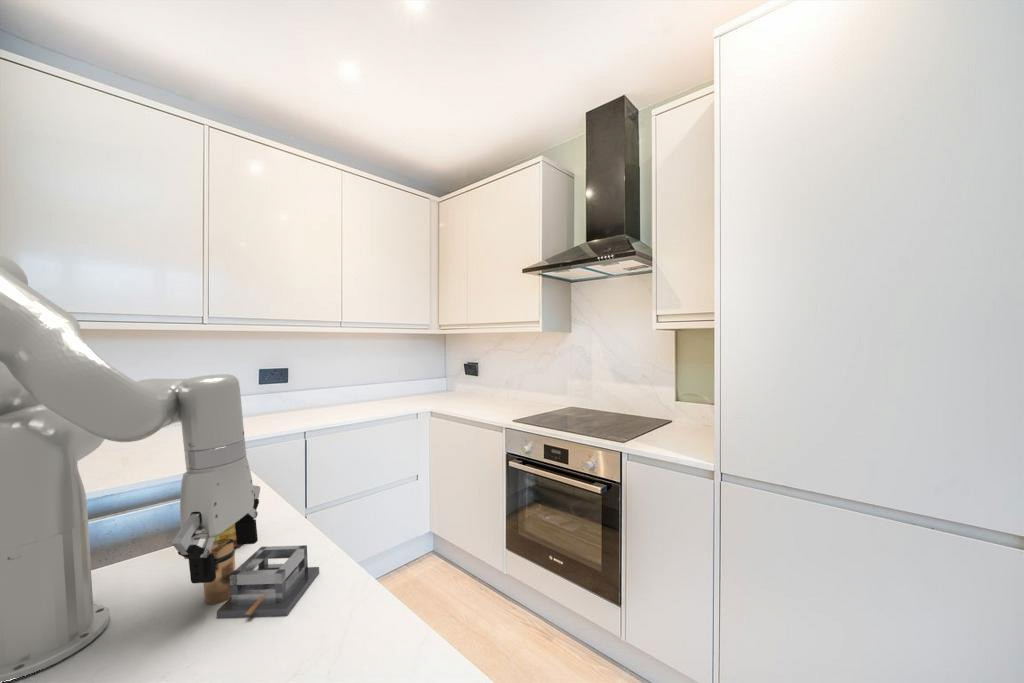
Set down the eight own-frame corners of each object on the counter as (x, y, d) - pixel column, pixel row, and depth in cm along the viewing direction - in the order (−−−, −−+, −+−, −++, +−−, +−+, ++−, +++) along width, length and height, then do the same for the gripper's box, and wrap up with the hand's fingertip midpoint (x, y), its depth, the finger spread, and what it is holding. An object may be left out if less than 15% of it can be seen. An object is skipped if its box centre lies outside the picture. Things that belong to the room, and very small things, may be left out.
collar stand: (212, 622, 56) (210, 584, 56) (259, 574, 67) (258, 542, 66) (283, 619, 56) (282, 582, 56) (319, 572, 67) (318, 541, 67)
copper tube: (197, 605, 59) (194, 553, 59) (217, 587, 64) (214, 538, 63) (224, 604, 60) (222, 552, 59) (242, 586, 64) (240, 537, 63)
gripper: (230, 439, 70) (240, 533, 70) (140, 478, 52) (154, 602, 53) (273, 436, 70) (282, 530, 71) (197, 475, 52) (210, 598, 53)
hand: (227, 561), depth 62 cm, fingers open, 9 cm apart
